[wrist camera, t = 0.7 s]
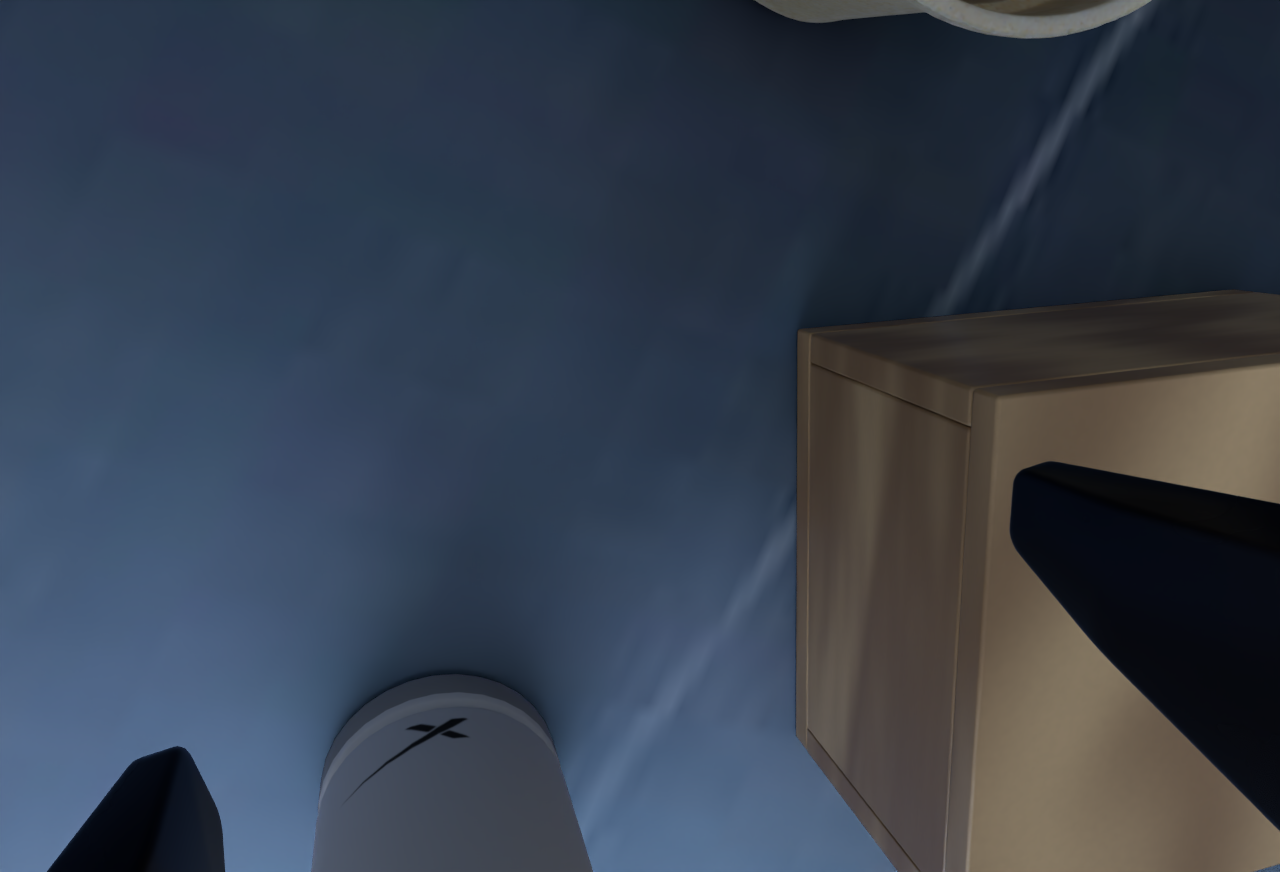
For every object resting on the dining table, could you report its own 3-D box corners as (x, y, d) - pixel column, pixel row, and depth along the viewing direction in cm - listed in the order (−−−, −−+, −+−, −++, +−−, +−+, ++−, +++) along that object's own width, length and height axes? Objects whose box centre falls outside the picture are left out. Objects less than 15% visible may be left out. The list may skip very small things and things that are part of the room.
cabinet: (1233, 288, 28) (1575, 328, 20) (1183, 654, 31) (1459, 814, 23) (796, 328, 24) (998, 396, 16) (795, 736, 28) (960, 957, 20)
